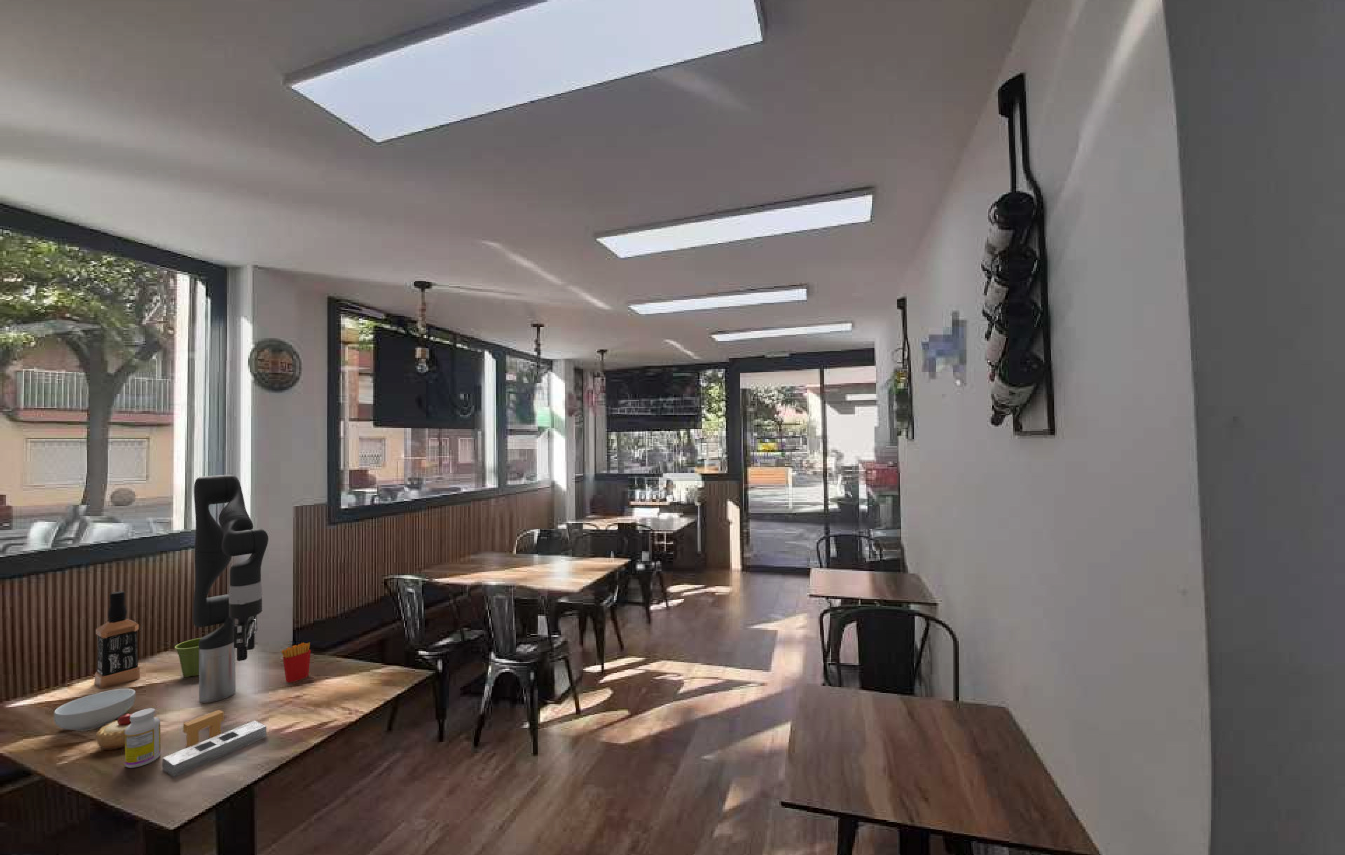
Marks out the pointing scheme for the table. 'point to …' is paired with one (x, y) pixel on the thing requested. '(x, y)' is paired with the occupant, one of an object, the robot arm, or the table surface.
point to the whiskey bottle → (117, 646)
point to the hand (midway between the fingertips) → (246, 654)
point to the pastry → (114, 733)
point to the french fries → (296, 662)
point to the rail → (213, 748)
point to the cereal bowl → (94, 710)
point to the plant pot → (189, 657)
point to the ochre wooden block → (203, 726)
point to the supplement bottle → (142, 738)
